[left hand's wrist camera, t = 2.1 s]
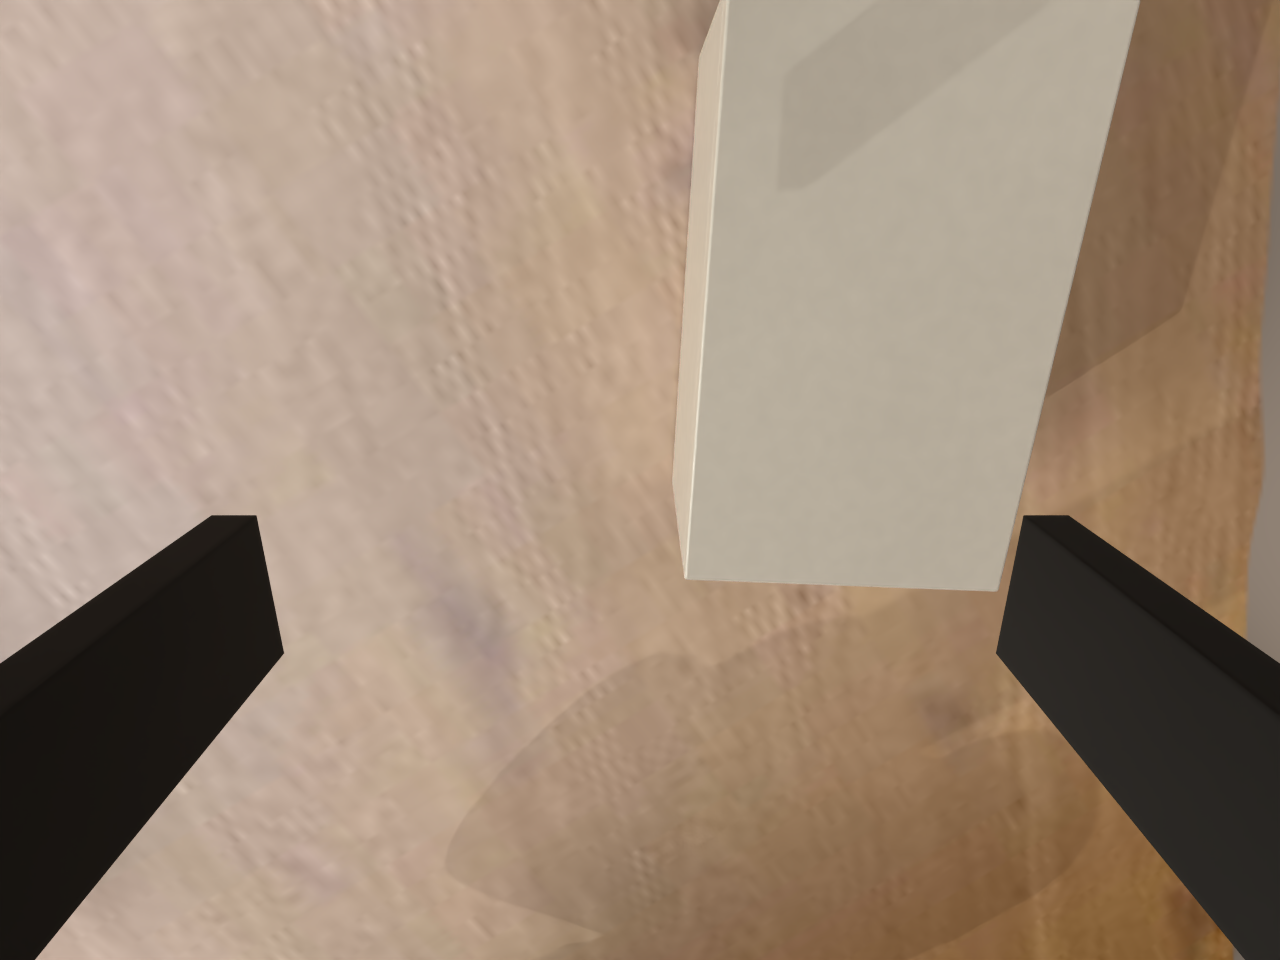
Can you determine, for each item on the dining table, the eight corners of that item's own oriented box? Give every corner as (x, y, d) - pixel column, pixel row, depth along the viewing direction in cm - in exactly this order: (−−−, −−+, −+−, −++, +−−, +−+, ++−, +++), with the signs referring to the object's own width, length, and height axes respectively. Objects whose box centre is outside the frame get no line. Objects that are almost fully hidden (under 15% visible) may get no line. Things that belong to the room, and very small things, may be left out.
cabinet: (698, 55, 26) (728, -25, 18) (978, 69, 26) (1143, -3, 18) (671, 482, 32) (684, 581, 23) (902, 492, 32) (999, 592, 23)
